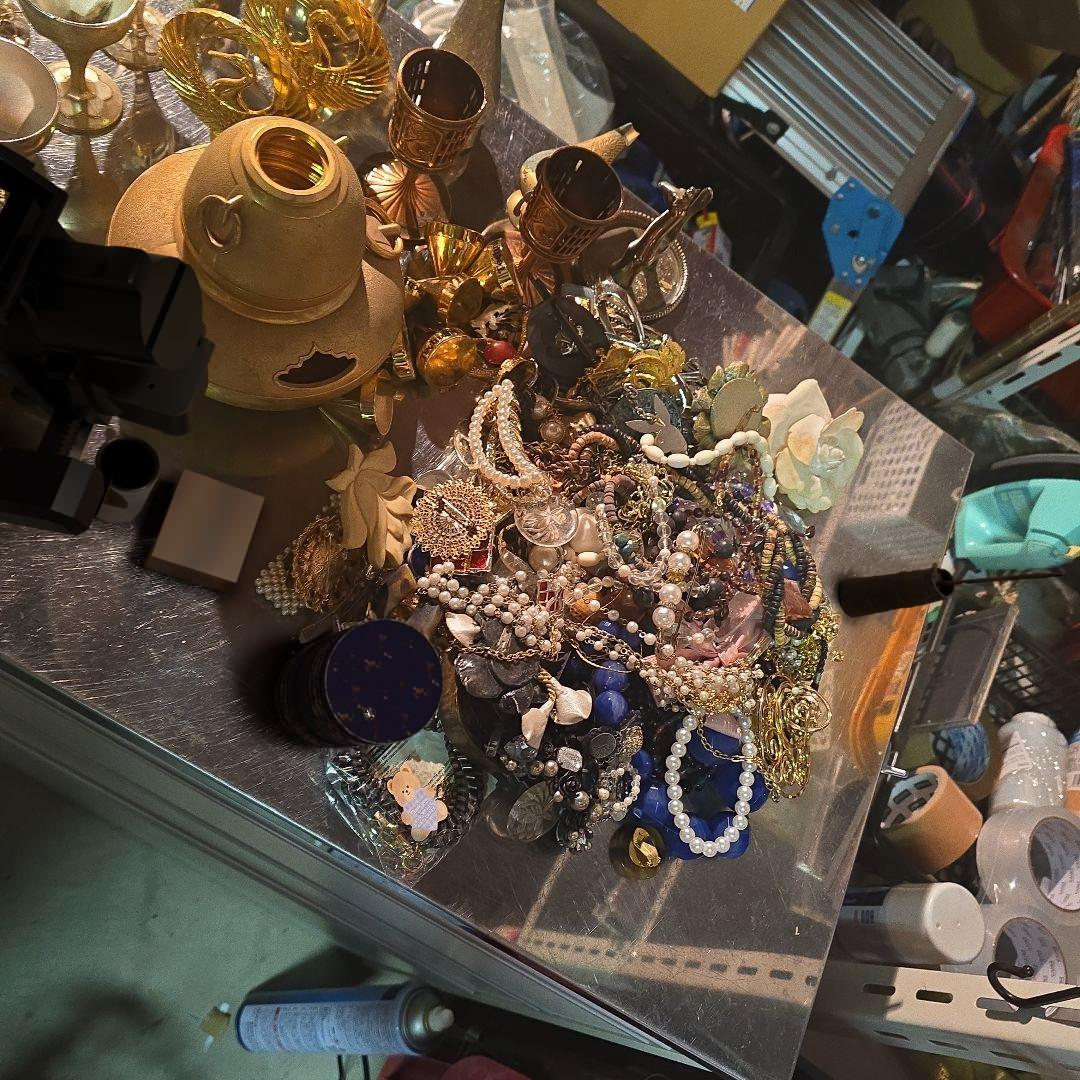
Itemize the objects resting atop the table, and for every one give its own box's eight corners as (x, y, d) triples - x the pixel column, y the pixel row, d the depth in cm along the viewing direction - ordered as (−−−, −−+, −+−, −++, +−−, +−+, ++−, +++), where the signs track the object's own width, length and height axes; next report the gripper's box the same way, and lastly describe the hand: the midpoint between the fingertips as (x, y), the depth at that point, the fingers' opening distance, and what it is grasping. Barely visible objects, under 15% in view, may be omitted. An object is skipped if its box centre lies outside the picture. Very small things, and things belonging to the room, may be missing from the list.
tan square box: (143, 567, 76) (150, 556, 72) (174, 483, 79) (183, 467, 75) (224, 593, 79) (236, 583, 75) (252, 511, 82) (265, 497, 77)
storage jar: (308, 620, 82) (361, 593, 69) (397, 671, 85) (464, 654, 73) (253, 718, 78) (299, 709, 65) (349, 768, 81) (411, 768, 68)
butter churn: (810, 575, 116) (1013, 527, 93) (852, 548, 121) (1053, 495, 98) (840, 639, 116) (1049, 607, 93) (880, 609, 122) (1088, 571, 98)
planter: (152, 486, 78) (170, 450, 69) (130, 532, 76) (146, 502, 67) (99, 463, 76) (110, 424, 67) (75, 510, 74) (84, 476, 66)
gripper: (97, 496, 45) (209, 590, 60) (215, 205, 52) (290, 354, 66) (-106, 459, 46) (53, 561, 61) (35, 178, 53) (148, 331, 67)
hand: (144, 447), depth 64 cm, fingers open, 9 cm apart
